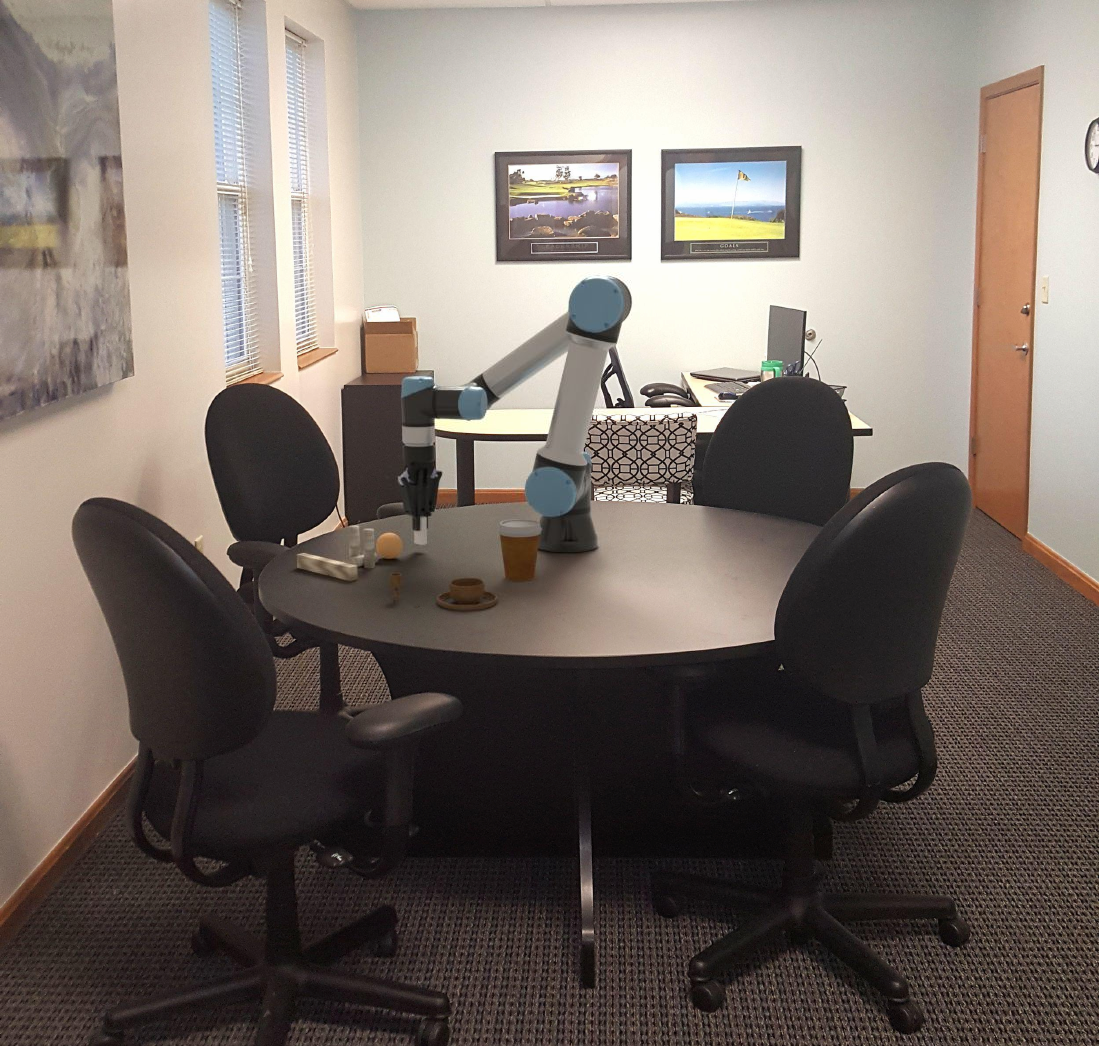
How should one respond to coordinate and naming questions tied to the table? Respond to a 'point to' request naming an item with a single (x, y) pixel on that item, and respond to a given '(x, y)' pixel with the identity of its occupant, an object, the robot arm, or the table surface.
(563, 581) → the table surface
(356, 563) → the front pin
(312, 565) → the white marbled bar
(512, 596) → the table surface
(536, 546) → the disposable coffee cup
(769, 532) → the table surface
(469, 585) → the place setting
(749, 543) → the table surface
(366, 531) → the back pin left
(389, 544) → the ball
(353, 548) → the back pin right
